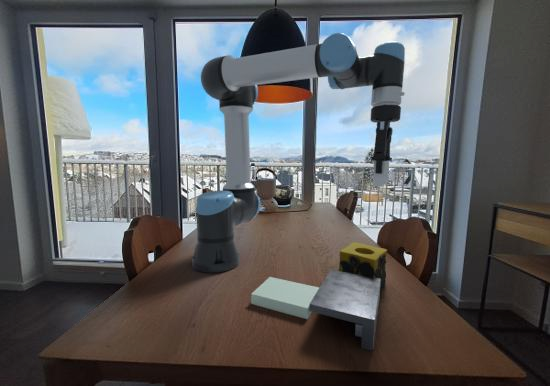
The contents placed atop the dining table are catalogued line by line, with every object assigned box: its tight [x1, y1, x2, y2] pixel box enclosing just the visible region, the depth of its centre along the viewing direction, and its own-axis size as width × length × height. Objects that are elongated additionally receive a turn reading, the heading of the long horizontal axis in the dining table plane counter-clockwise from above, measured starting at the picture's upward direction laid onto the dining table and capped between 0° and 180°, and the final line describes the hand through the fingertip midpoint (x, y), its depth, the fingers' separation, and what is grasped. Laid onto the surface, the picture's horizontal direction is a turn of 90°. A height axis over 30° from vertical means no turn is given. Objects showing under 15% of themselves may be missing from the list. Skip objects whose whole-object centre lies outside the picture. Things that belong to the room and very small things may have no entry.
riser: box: [309, 269, 381, 352], centre depth 57 cm, size 12×18×6 cm, turn 155°
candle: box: [338, 241, 388, 289], centre depth 72 cm, size 10×10×10 cm
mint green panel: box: [250, 276, 320, 320], centre depth 63 cm, size 14×10×3 cm
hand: (380, 184), depth 74 cm, fingers open, 13 cm apart
